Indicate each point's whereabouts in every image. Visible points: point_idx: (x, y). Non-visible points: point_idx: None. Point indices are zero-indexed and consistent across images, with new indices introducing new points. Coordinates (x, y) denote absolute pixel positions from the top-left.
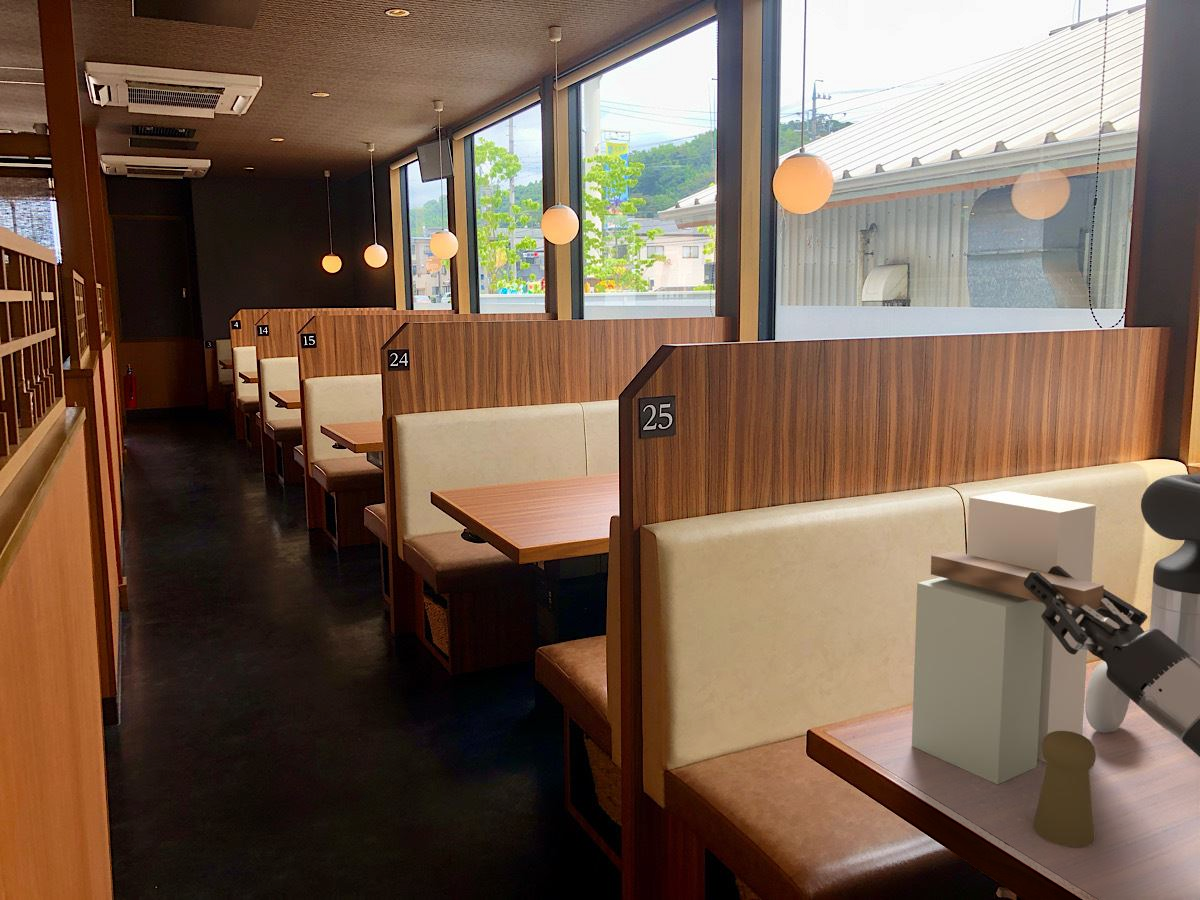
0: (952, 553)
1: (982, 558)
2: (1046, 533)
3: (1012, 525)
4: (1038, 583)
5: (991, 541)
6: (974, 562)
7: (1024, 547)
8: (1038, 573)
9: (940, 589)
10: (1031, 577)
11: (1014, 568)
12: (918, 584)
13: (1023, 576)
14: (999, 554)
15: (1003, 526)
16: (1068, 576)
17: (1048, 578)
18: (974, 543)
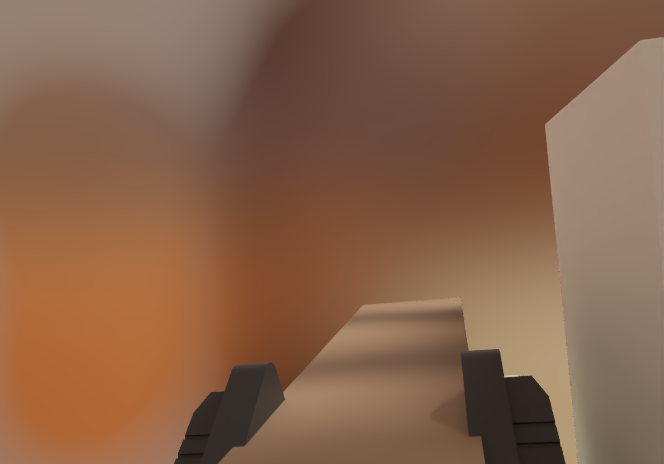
0: (433, 302)
1: (453, 317)
2: (632, 184)
3: (585, 184)
4: (196, 435)
5: (576, 263)
6: (378, 326)
7: (609, 273)
8: (251, 375)
9: None
10: (213, 394)
11: (410, 354)
12: None
13: (294, 389)
14: (588, 311)
15: (578, 196)
16: (483, 428)
17: (346, 418)
18: (563, 277)
